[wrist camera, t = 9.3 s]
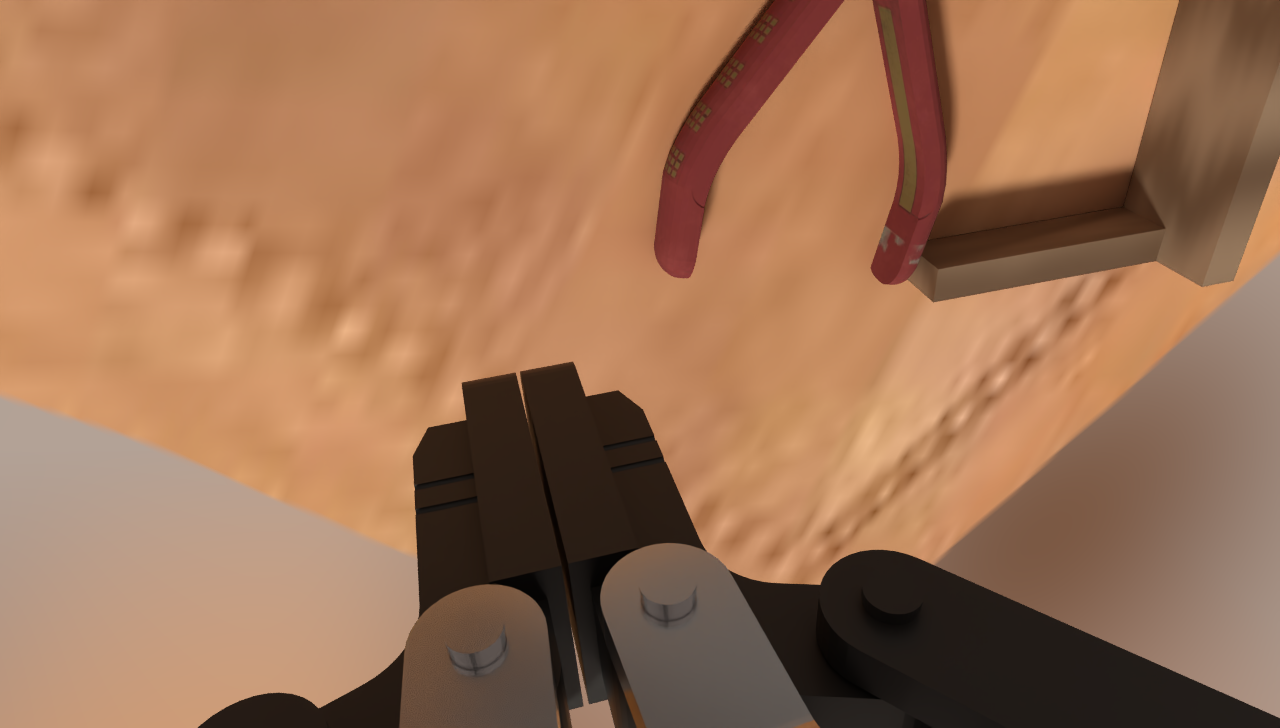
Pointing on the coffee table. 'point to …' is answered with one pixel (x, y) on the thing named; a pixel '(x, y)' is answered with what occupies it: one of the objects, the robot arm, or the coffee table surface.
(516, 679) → the robot arm
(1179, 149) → the tool rest
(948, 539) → the coffee table surface
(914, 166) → the pliers
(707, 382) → the coffee table surface
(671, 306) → the coffee table surface
